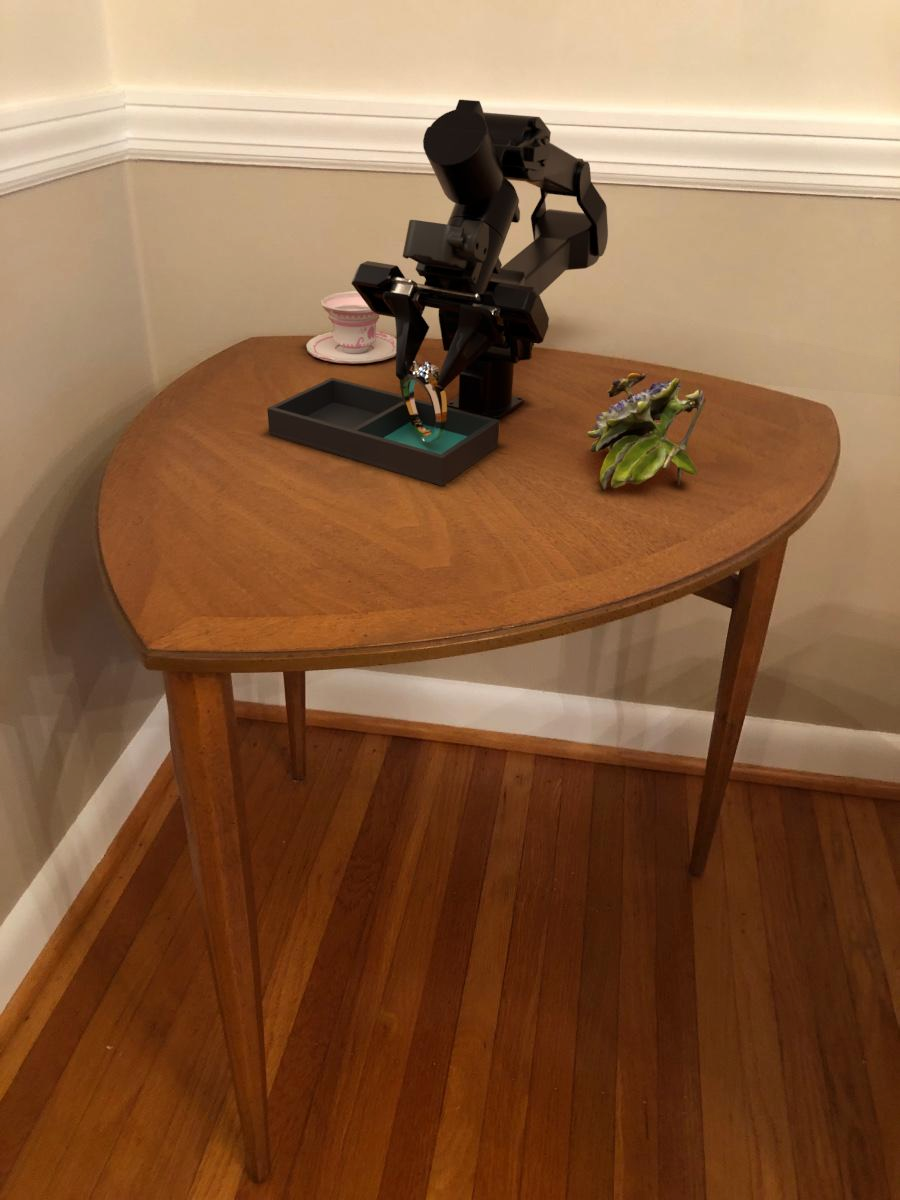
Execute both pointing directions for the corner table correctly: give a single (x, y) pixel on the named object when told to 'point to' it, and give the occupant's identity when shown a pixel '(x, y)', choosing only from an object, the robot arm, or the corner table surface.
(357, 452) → the tray
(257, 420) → the corner table surface
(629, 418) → the passion flower
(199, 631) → the corner table surface
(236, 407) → the corner table surface
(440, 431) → the ring
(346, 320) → the teacup
